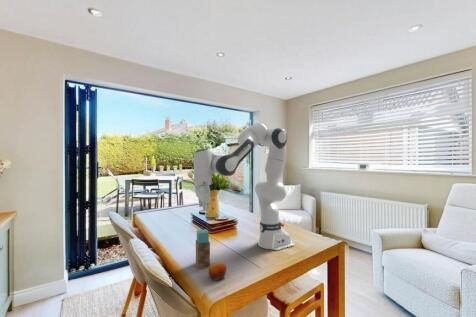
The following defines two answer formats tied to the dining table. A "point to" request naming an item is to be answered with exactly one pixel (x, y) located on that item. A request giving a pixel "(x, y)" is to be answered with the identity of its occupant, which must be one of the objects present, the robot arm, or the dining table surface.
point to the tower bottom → (202, 261)
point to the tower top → (202, 249)
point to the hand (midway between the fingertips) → (202, 208)
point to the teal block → (202, 236)
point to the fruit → (217, 270)
